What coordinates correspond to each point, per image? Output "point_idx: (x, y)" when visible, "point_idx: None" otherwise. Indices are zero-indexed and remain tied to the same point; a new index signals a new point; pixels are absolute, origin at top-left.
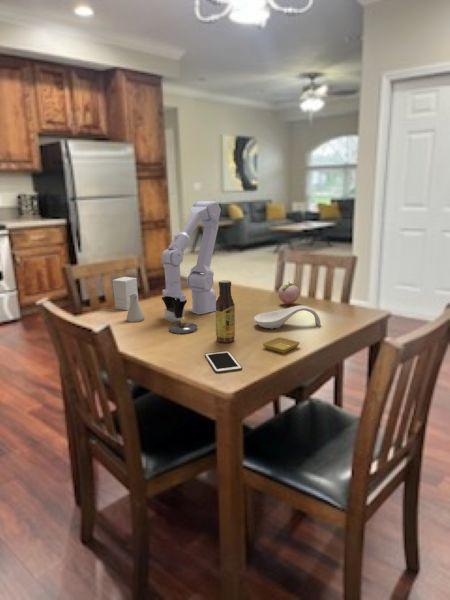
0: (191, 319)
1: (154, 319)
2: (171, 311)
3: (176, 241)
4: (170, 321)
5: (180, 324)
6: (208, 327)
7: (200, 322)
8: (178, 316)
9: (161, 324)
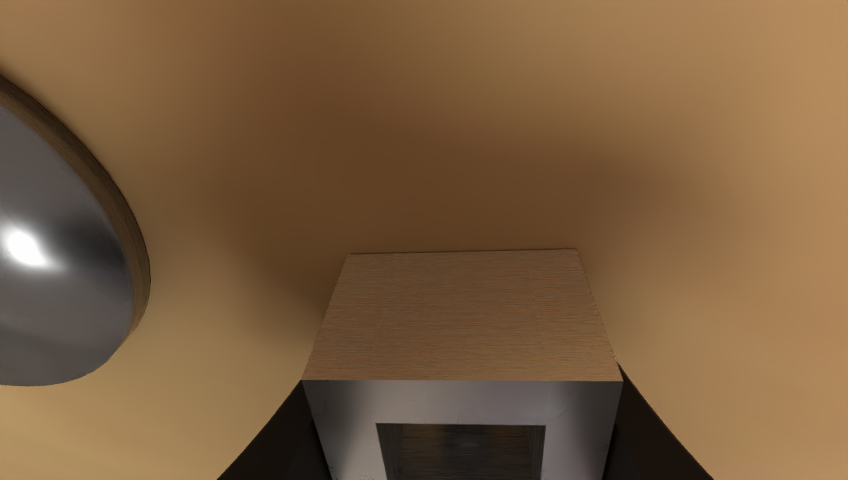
0: None
1: (726, 105)
2: (363, 397)
3: None
4: (403, 254)
5: (52, 266)
6: (4, 423)
7: (199, 446)
8: None
9: (341, 77)
